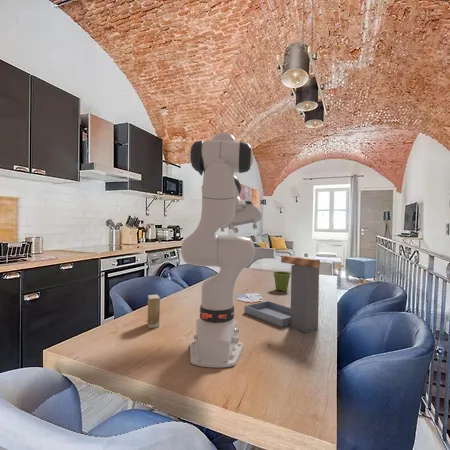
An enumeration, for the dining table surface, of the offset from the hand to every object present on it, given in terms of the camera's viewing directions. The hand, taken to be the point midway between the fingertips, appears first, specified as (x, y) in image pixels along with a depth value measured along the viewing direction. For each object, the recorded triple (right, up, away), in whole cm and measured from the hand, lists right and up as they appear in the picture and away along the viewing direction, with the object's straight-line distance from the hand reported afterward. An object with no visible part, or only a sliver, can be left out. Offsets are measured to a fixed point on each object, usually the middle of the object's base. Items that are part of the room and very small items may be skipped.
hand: (246, 229), depth 135 cm
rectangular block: (+22, -15, -10) cm, 28 cm away
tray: (+13, -40, +2) cm, 43 cm away
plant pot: (+27, -40, +56) cm, 74 cm away
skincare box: (-40, -40, -12) cm, 58 cm away
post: (+23, -41, -12) cm, 48 cm away
